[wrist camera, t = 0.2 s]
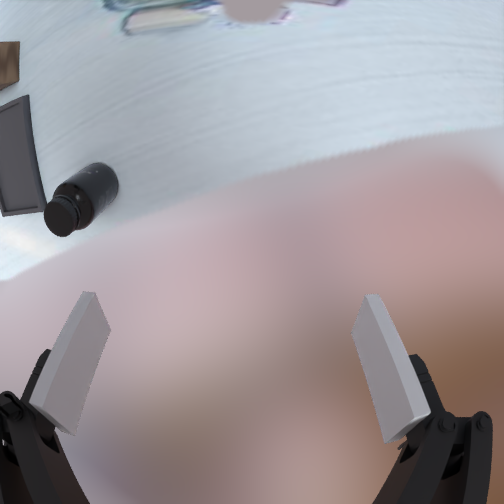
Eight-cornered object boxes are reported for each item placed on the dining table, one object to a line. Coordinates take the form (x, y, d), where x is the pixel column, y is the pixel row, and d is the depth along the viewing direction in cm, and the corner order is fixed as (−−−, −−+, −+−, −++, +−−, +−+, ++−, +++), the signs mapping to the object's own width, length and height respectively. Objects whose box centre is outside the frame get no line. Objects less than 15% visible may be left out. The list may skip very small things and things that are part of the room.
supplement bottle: (100, 152, 35) (54, 181, 24) (127, 187, 38) (91, 225, 28) (74, 180, 36) (30, 215, 26) (100, 212, 40) (63, 254, 30)
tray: (-12, 114, 27) (-18, 116, 26) (29, 94, 28) (22, 96, 26) (8, 212, 38) (2, 216, 37) (47, 207, 38) (42, 211, 37)
